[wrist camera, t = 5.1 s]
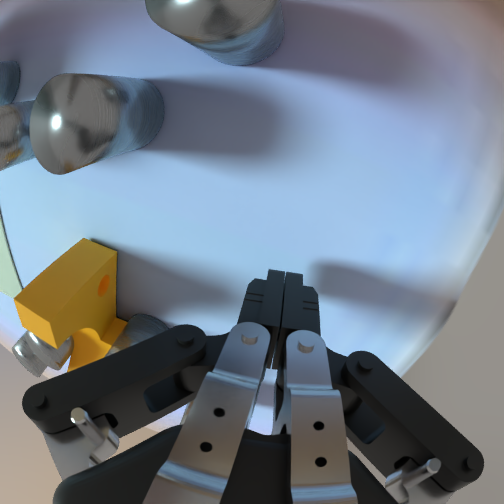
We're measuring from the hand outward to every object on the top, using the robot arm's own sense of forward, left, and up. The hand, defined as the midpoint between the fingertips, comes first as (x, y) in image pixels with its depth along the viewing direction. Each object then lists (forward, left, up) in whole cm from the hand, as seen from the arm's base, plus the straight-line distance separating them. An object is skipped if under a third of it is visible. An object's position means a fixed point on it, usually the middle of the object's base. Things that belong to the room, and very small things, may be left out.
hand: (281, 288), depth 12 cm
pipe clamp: (+6, -11, -2) cm, 13 cm away
